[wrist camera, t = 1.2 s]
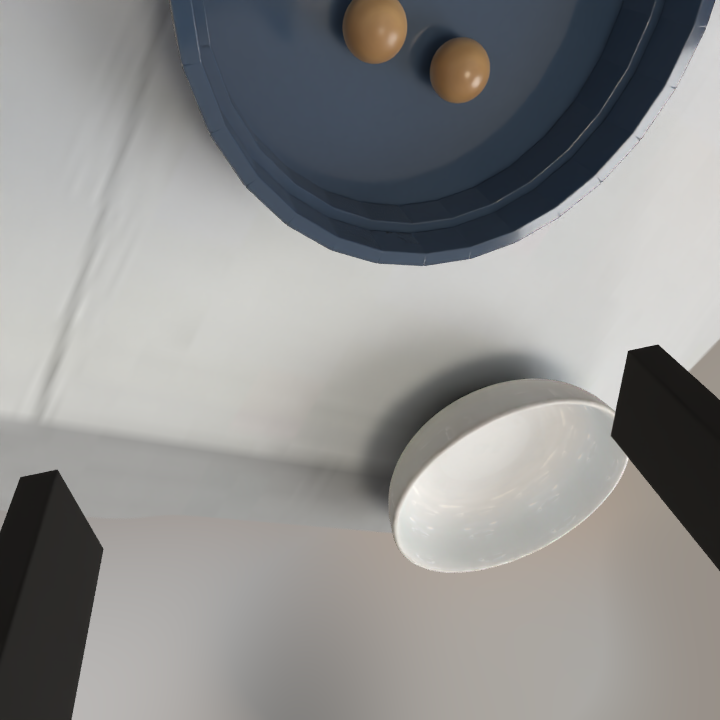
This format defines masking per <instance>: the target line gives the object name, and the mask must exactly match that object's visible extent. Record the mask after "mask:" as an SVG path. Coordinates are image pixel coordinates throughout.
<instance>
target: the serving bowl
mask: <svg viewBox="0 0 720 720" xmlns="http://www.w3.org/2000/svg"><path fill="white" fill-rule="evenodd" d="M614 417H615V411H614V410H613V409H612V408H610V407H609V406H608V405H607V404H605V403H604V402H603V401H602V400H600V399H599V398H597V397H596V396H594V395H593V394H591V393H589V392H587V391H585V390H583V389H581V388H579V387H576V386H574V385H571V384H568V383H564V382H561V381H555V380H549V379H519V380H512V381H507V382H502V383H498V384H494V385H491V386H488V387H485V388H482V389H479V390H477V391H474V392H472V393H470V394H468V395H466V396H464V397H462V398H460V399H458V400H456V401H455V402H453V403H451V404H450V405H448V406H447V407H445V408H444V409H442V410H441V411H440V412H438V413H437V414H436V415H435V416H433V417H432V418H431V419H430V420H429V421H428V422H427V423H425V424H424V425H423V426H422V427H421V429H420V430H419V431H418V432H417V433H416V434H415V435H414V437H413V438H412V439H411V441H410V442H409V443H408V445H407V446H406V448H405V449H404V451H403V453H402V454H401V456H400V458H399V460H398V462H397V464H396V467H395V470H394V472H393V476H392V479H391V483H390V489H389V499H388V509H389V519H390V524H391V528H392V533H393V537H394V540H395V543H396V545H397V547H398V549H399V550H400V552H401V553H402V554H403V555H404V556H405V557H406V558H407V559H408V560H409V561H411V562H412V563H414V564H416V565H418V566H420V567H422V568H425V569H428V570H432V571H437V572H449V573H458V572H471V571H478V570H483V569H488V568H492V567H496V566H500V565H503V564H506V563H509V562H512V561H515V560H517V559H519V558H522V557H524V556H527V555H529V554H531V553H533V552H535V551H538V550H540V549H542V548H543V547H545V546H547V545H549V544H551V543H552V542H554V541H556V540H557V539H559V538H561V537H562V536H564V535H565V534H567V533H568V532H569V531H571V530H572V529H574V528H575V527H576V526H578V525H579V524H580V523H581V522H583V521H584V520H585V519H586V518H587V517H589V516H590V515H591V514H592V513H593V512H594V511H595V510H596V509H597V508H598V507H599V506H600V505H601V504H602V503H603V502H604V501H605V499H606V498H607V497H608V496H609V494H610V493H611V492H612V491H613V489H614V488H615V486H616V485H617V483H618V482H619V480H620V478H621V476H622V474H623V472H624V470H625V467H626V465H627V462H628V459H629V458H628V457H627V455H626V454H625V453H624V452H623V451H622V449H621V448H620V447H619V446H618V444H617V443H616V442H615V441H614V439H613V438H612V437H611V431H612V426H613V421H614Z"/></svg>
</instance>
